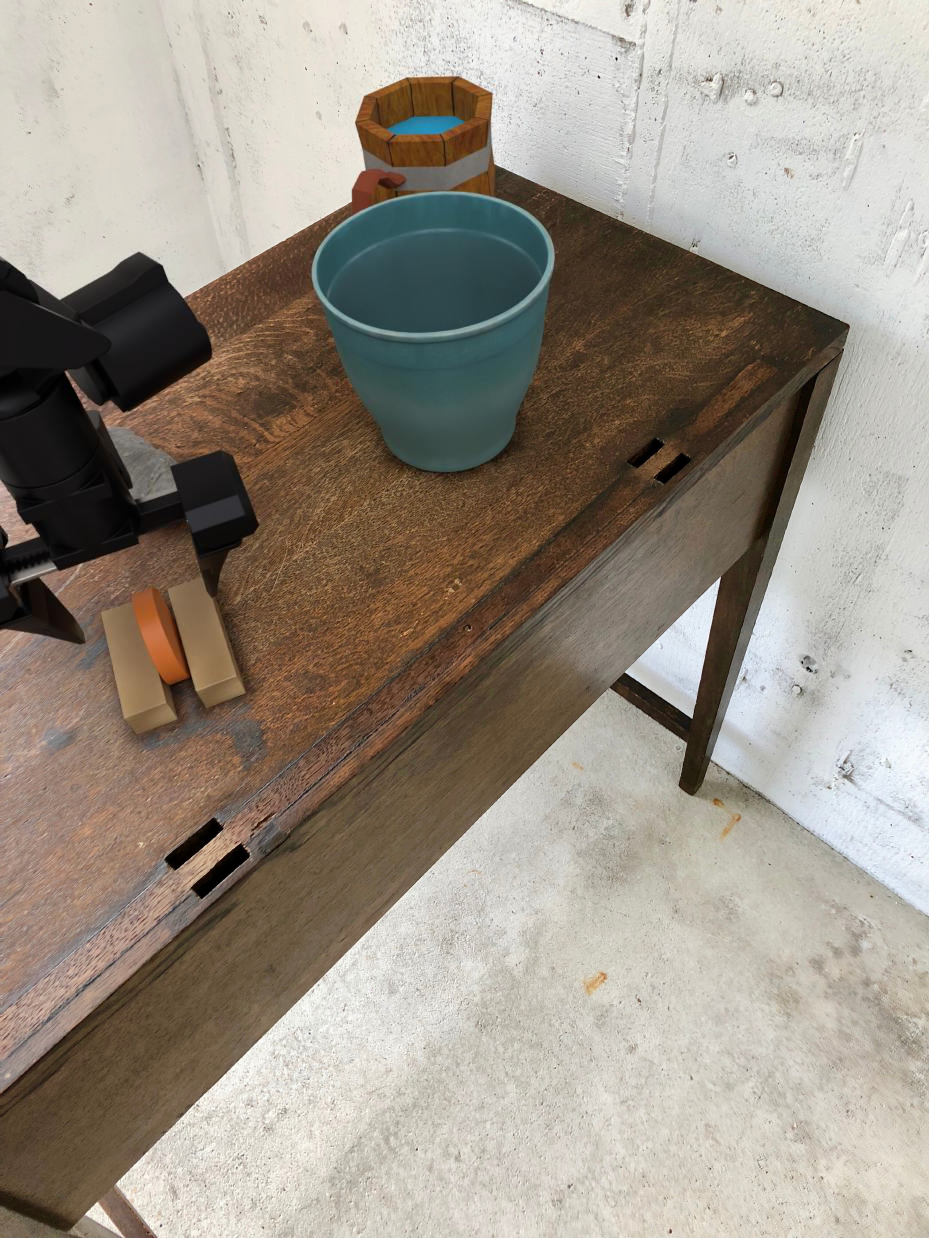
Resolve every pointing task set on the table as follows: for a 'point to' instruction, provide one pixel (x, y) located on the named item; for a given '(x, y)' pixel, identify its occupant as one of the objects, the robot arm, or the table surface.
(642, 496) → the table surface
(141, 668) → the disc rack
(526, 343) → the flower pot
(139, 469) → the grey sweet potato
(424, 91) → the mug
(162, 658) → the disc
